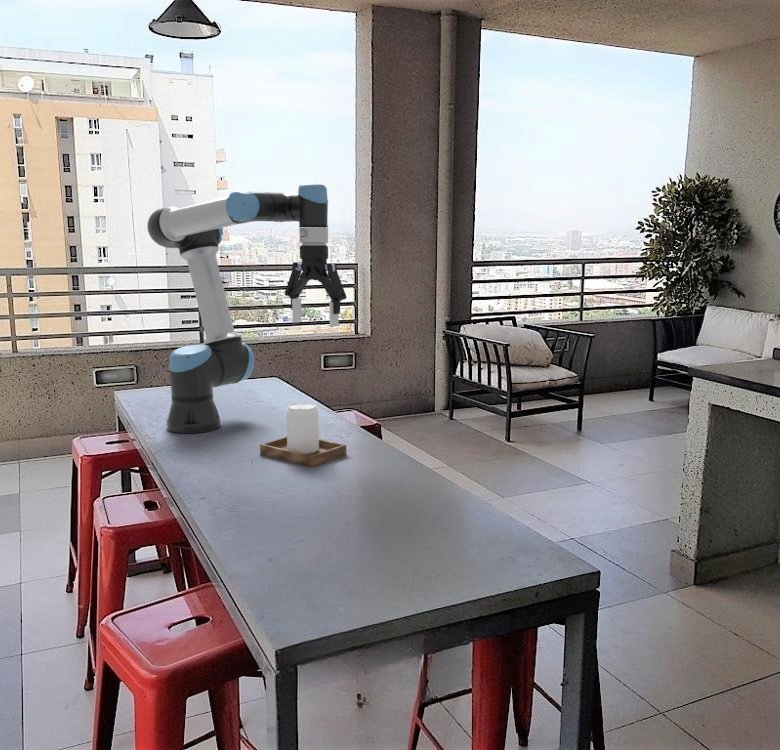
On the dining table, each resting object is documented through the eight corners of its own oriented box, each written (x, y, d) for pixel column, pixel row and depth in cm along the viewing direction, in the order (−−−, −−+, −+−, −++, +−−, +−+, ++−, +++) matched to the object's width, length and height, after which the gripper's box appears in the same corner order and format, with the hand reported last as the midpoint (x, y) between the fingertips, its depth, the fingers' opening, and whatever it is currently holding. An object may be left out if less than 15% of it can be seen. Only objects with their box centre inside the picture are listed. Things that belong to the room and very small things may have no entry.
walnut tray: (260, 454, 191) (259, 444, 190) (295, 442, 201) (295, 433, 200) (312, 467, 180) (311, 457, 180) (346, 454, 190) (346, 444, 190)
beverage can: (321, 447, 194) (321, 402, 192) (315, 456, 186) (314, 410, 184) (291, 446, 195) (290, 401, 192) (284, 455, 187) (282, 409, 184)
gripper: (270, 243, 200) (272, 321, 204) (340, 245, 185) (341, 329, 190) (290, 243, 206) (292, 319, 210) (359, 244, 191) (359, 326, 195)
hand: (315, 324), depth 200 cm, fingers open, 13 cm apart
